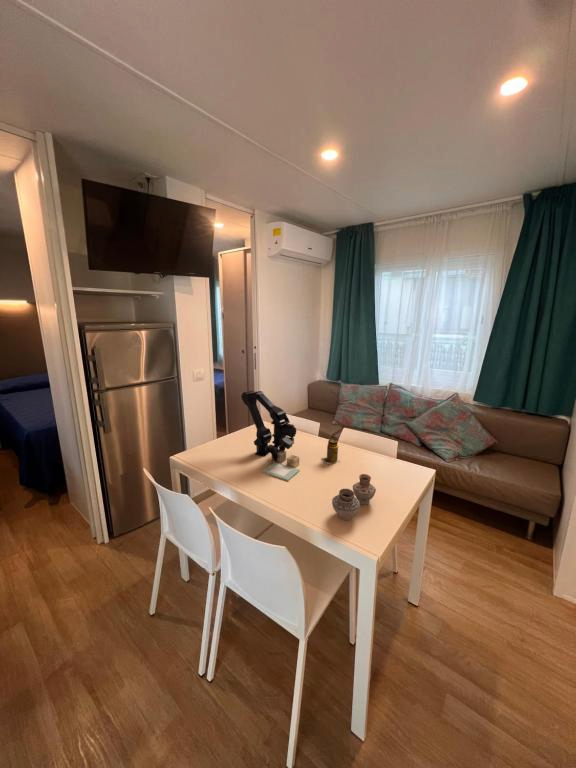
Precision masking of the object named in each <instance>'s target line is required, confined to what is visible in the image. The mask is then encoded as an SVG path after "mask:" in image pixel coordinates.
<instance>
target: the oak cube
mask: <svg viewBox="0 0 576 768" xmlns="http://www.w3.org/2000/svg"><path fill="white" fill-rule="evenodd" d="M286 466H290V467H293V468H296V469H297V468H298V467H299V466H300V456H298V455H294V454H290V455H288V457H286Z"/></svg>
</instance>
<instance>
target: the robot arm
mask: <svg viewBox="0 0 576 768" xmlns="http://www.w3.org/2000/svg"><path fill="white" fill-rule="evenodd" d="M241 400H242V402H243V403H244V404H245V405H246V407H248V410H249V412H250V415H251V418H252V420H253V423H254V426H255V428H256V435H255V436H256V439H254V441H253V444H254V445H255V446H256V451H255V452H254V455H257V456H260V457H266V456H267V455H268V454H272V456H273V458H274V460H275V461H277V454H278V452H279V450H278V449H280V450H283V451H286V450H289V449H290V448H292V447H293V445H294V444H295V436H296V434H297V428H296V427H295V424H291V423H290V422H291V421H290V420H289V417H288V415H287V412H286V411H285V410H284V409H282V408H281V407H279V406H277V405H275V404H274V403H273V402H272V401H271V400H270V399H269V398H268V397H267V396H266V395H265V394H264V392H263V391H262V390H259V391H254V390H249V391H247V390H246V391H244V392H242V393H241ZM257 402H258V403H260V404H261V406H262V407H263V408H265V410H266V411H267V412H268V414H269V417H270V418H271V420H272V421H271V422H270V424H271V425H273V434H272V432H271V429H270V428H269V427H268V428H267V427H266V426H265V423H264V420H263V418H262V416H261V412H260V411H259V408H258V405H257ZM272 438H273V441H272ZM271 441H272V442H271ZM270 443H272V444H270Z"/></svg>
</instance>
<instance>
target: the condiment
mask: <svg viewBox="0 0 576 768" xmlns="http://www.w3.org/2000/svg"><path fill="white" fill-rule="evenodd" d="M338 445H339V444H338V440H337V439H335V438H334V439H333V438H332V439H328V443H327V447H326V457H323V458H321V461H322V462H324V463H325V464H326V465H331V464H337V463H340V462H341V460H339V459H338V453H339V446H338Z"/></svg>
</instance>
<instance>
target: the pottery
mask: <svg viewBox="0 0 576 768" xmlns="http://www.w3.org/2000/svg"><path fill="white" fill-rule="evenodd" d="M358 478H359V481H358V482H355V483H354V484H353V485H352V489H350V488H341V489H340V490H339V491H338V494H337V495H335V496H333V498H332V500H331V504H332V508H333V510H334V512H335V513H336V514H337V515H338V518H340V519H341V520H343V521H351V519H352V518H353V517H354V516H355V515H356V514H357V513H358V512H359V510H360V507H361V505H368V504H370V501H371V500H372V499H374V498H373V497H375V494H376V491H377V489H376V487H375V486H374V485H373V484H371V479H372V477H371V476H370V475H369V474H367V473H361V474H359V476H358Z"/></svg>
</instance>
